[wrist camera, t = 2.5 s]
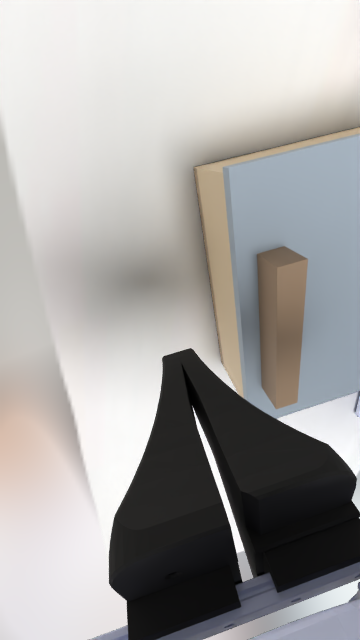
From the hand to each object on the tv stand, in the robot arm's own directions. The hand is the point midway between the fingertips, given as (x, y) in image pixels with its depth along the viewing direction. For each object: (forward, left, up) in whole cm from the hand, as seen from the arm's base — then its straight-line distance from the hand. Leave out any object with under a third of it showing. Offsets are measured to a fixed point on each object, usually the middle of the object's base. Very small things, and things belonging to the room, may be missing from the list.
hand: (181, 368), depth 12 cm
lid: (0, -9, -1) cm, 9 cm away
